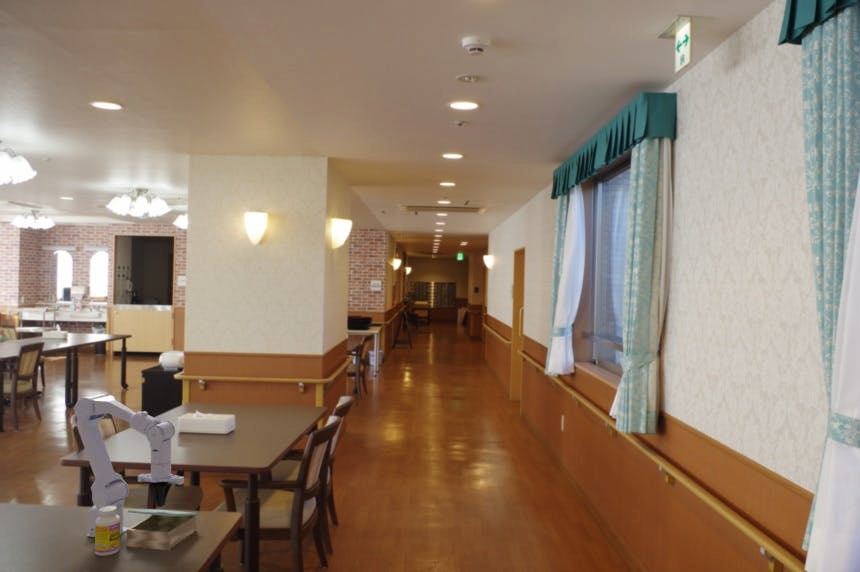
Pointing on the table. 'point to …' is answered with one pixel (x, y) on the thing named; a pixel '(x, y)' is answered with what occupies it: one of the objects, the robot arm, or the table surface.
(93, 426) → the robot arm
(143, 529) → the box
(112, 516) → the supplement bottle
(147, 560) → the table surface
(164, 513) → the lid
